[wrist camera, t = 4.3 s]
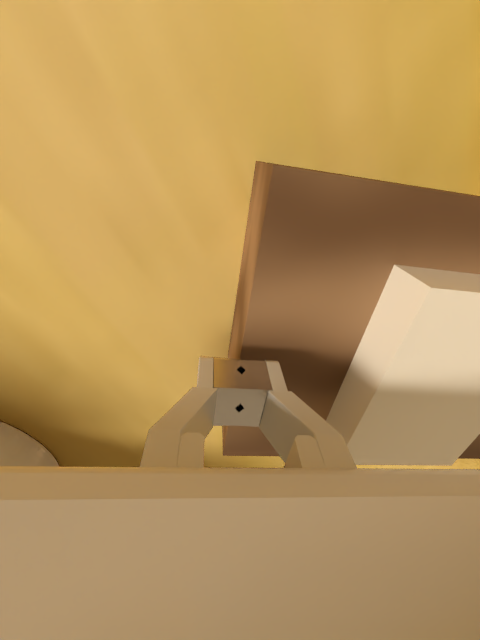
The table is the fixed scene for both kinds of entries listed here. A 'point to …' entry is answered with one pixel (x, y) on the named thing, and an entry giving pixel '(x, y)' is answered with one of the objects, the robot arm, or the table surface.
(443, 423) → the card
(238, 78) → the table surface
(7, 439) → the utensil holder
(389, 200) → the deck
